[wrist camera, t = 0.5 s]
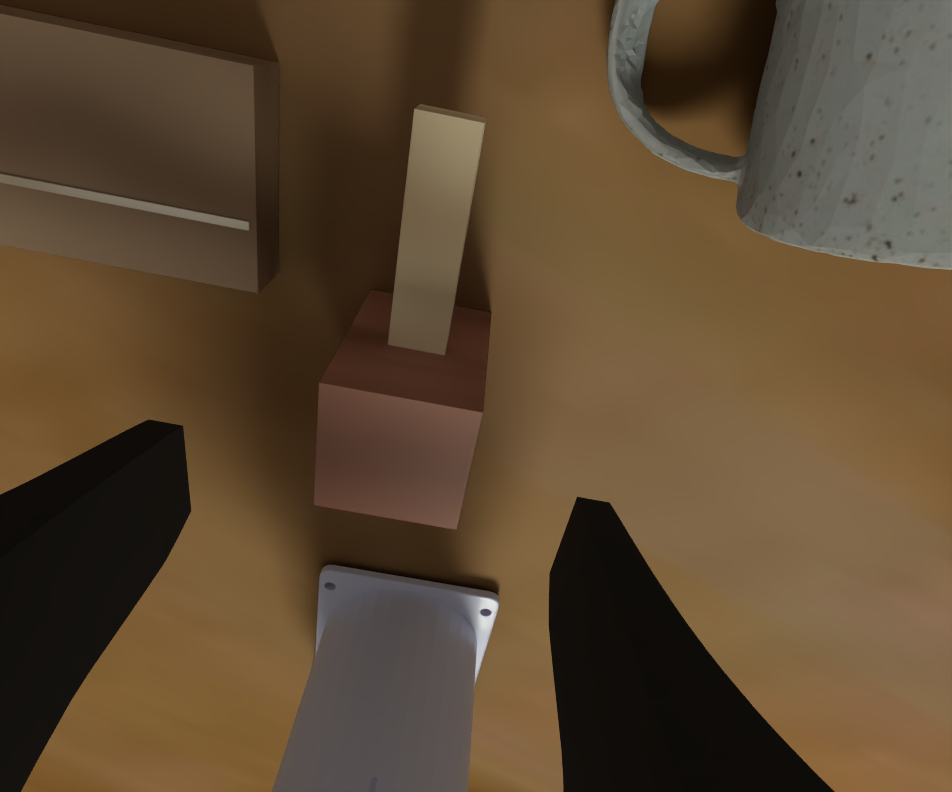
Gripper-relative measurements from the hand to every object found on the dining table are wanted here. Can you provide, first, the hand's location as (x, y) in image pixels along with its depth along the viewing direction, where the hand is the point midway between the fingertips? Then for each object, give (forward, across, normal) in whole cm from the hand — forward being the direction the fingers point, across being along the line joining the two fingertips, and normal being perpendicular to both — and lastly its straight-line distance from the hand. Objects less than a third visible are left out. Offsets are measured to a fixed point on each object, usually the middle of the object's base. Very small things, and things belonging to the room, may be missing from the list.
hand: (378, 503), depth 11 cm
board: (+10, +12, -3) cm, 16 cm away
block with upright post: (+10, 0, -1) cm, 10 cm away
